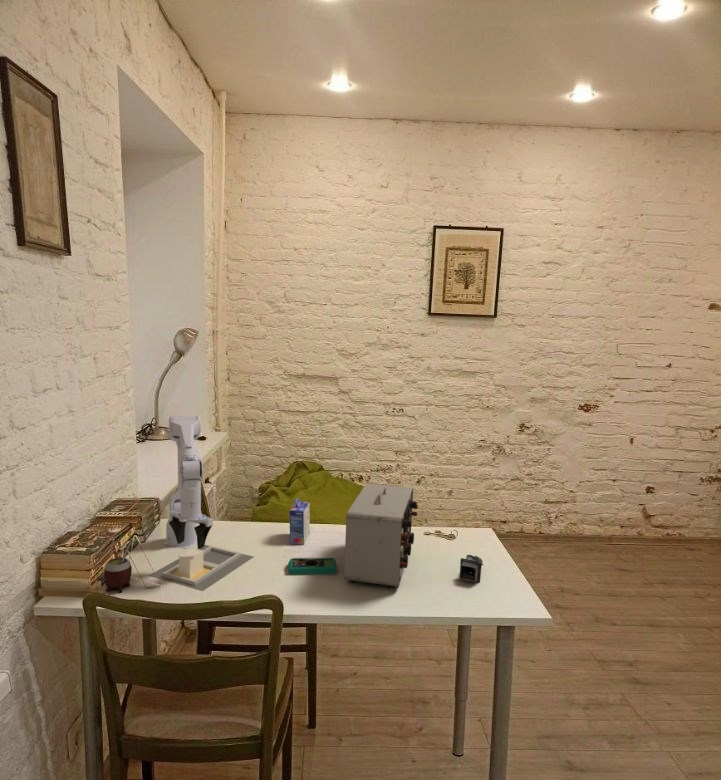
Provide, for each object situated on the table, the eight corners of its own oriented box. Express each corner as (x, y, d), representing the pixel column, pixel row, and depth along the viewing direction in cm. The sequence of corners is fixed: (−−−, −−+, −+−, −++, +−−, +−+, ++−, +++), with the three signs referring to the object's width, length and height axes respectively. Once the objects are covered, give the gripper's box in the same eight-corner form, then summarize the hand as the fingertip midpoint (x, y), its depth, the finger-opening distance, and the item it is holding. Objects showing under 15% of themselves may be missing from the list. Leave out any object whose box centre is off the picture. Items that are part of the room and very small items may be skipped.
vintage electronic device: (405, 593, 153) (409, 510, 150) (343, 585, 156) (346, 503, 153) (416, 549, 184) (419, 478, 181) (364, 543, 187) (367, 474, 184)
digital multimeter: (288, 565, 169) (288, 556, 169) (335, 565, 170) (335, 556, 170) (287, 576, 162) (287, 567, 161) (336, 576, 163) (336, 566, 163)
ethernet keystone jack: (485, 568, 171) (486, 549, 170) (478, 586, 159) (480, 566, 158) (465, 564, 173) (466, 545, 172) (457, 582, 161) (458, 561, 160)
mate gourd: (101, 586, 150) (100, 535, 149) (131, 579, 155) (130, 530, 153) (108, 597, 145) (106, 545, 143) (138, 589, 149) (137, 538, 148)
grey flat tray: (148, 577, 157) (148, 572, 157) (204, 546, 180) (204, 541, 180) (202, 592, 149) (202, 587, 149) (254, 558, 172) (254, 553, 172)
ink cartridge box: (295, 532, 194) (295, 494, 192) (309, 534, 193) (310, 495, 192) (288, 543, 184) (289, 503, 182) (304, 545, 184) (305, 504, 182)
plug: (179, 575, 157) (178, 555, 157) (194, 566, 163) (194, 547, 163) (189, 578, 156) (189, 558, 155) (204, 569, 162) (204, 550, 161)
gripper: (161, 500, 156) (162, 545, 157) (201, 509, 150) (201, 555, 152) (178, 494, 162) (178, 536, 164) (217, 501, 156) (217, 546, 158)
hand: (190, 545), depth 158 cm, fingers open, 7 cm apart
